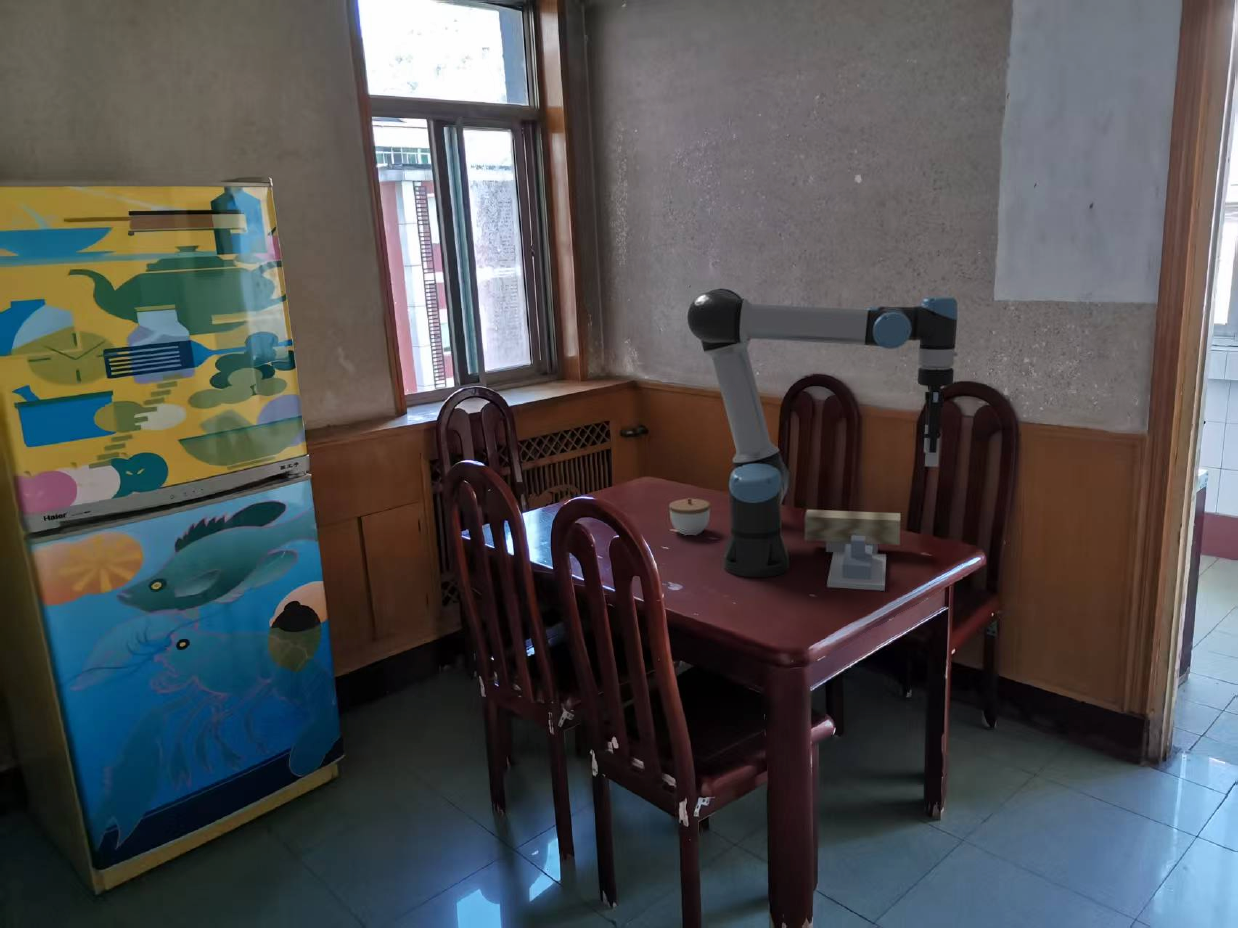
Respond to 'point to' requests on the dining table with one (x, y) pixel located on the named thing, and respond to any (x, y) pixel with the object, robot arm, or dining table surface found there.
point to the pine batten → (852, 526)
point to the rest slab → (842, 545)
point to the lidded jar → (689, 515)
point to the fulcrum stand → (857, 567)
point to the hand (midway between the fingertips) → (930, 459)
